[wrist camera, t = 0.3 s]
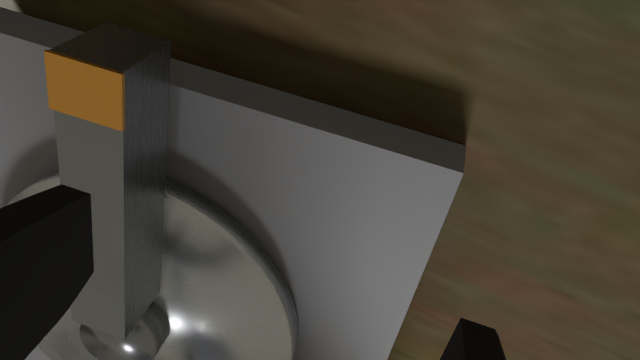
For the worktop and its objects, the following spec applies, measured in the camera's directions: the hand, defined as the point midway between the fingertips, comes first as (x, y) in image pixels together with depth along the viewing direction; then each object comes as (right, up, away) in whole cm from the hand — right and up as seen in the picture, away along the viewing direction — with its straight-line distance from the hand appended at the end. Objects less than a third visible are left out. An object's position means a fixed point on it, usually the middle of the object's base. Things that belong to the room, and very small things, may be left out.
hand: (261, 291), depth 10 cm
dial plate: (-6, -2, +14) cm, 16 cm away
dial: (-5, -1, +11) cm, 13 cm away
